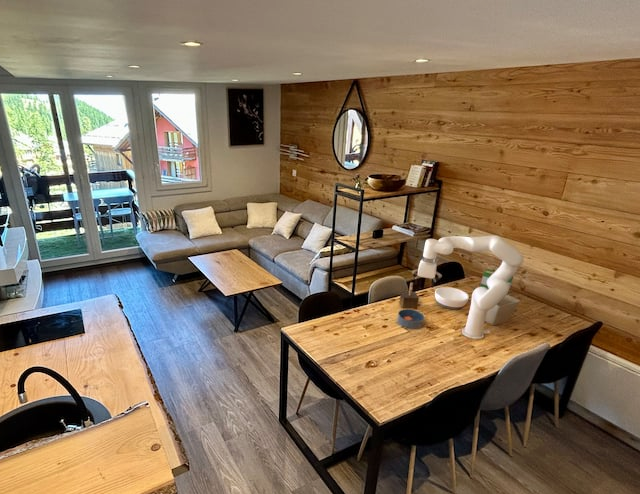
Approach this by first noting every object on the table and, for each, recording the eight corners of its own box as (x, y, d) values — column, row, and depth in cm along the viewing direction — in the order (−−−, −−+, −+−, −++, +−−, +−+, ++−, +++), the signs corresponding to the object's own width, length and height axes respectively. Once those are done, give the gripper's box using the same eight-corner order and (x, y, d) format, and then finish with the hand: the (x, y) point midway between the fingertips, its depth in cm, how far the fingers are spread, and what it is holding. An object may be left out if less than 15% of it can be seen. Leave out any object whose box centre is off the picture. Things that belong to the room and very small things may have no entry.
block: (408, 321, 256) (409, 316, 254) (411, 324, 252) (412, 319, 251) (402, 322, 255) (403, 317, 253) (406, 325, 251) (407, 320, 250)
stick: (408, 305, 278) (412, 282, 271) (409, 306, 276) (413, 283, 269) (406, 305, 278) (410, 282, 271) (406, 306, 276) (410, 283, 269)
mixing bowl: (419, 317, 262) (420, 309, 260) (425, 330, 247) (427, 322, 245) (394, 316, 263) (395, 308, 260) (399, 329, 248) (401, 321, 246)
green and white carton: (476, 302, 284) (483, 272, 275) (478, 298, 290) (485, 269, 280) (503, 309, 275) (511, 278, 265) (505, 306, 280) (513, 275, 271)
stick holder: (413, 302, 281) (415, 291, 278) (416, 309, 272) (418, 298, 269) (399, 302, 282) (401, 291, 279) (402, 308, 273) (404, 297, 269)
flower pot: (493, 329, 250) (500, 306, 243) (469, 315, 266) (475, 293, 259) (514, 323, 257) (520, 300, 251) (489, 310, 273) (495, 288, 267)
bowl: (446, 294, 295) (448, 284, 292) (473, 306, 278) (475, 296, 274) (426, 301, 284) (428, 290, 281) (453, 314, 267) (455, 303, 264)
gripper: (444, 259, 233) (439, 285, 239) (414, 255, 238) (409, 280, 245) (444, 263, 226) (439, 290, 233) (413, 259, 232) (409, 285, 238)
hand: (424, 285), depth 239 cm, fingers open, 9 cm apart
